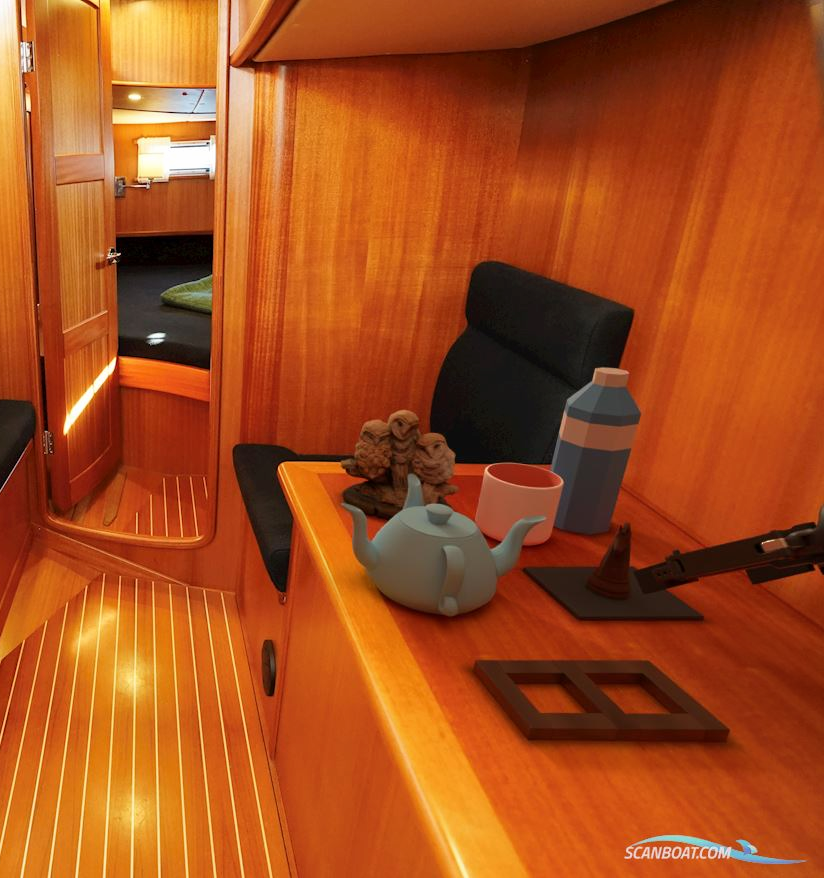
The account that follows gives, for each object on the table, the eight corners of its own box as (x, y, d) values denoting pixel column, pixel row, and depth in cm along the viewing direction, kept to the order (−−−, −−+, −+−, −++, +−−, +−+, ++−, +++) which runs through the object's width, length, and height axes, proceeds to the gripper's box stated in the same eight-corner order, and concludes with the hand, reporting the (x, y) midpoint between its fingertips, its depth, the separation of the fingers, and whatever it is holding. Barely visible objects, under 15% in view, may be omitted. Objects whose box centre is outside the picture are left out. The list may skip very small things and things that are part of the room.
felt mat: (632, 569, 99) (633, 566, 98) (703, 620, 87) (704, 616, 87) (522, 570, 99) (523, 566, 99) (578, 620, 88) (579, 616, 88)
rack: (645, 671, 79) (648, 660, 79) (726, 741, 69) (730, 729, 69) (472, 670, 80) (474, 659, 80) (527, 739, 70) (530, 728, 70)
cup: (459, 527, 112) (470, 469, 109) (501, 514, 116) (513, 458, 112) (520, 555, 103) (534, 493, 100) (564, 540, 107) (579, 480, 103)
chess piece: (582, 590, 93) (600, 524, 90) (590, 576, 96) (608, 511, 93) (625, 604, 90) (646, 535, 87) (633, 588, 93) (653, 521, 90)
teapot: (395, 542, 108) (406, 469, 104) (529, 594, 94) (549, 512, 90) (330, 579, 99) (339, 501, 95) (467, 643, 85) (486, 555, 80)
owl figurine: (335, 513, 118) (347, 418, 112) (336, 486, 128) (347, 397, 122) (457, 529, 111) (476, 428, 105) (447, 499, 122) (464, 405, 116)
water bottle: (527, 507, 118) (560, 363, 109) (588, 509, 116) (626, 363, 108) (557, 533, 109) (596, 379, 100) (623, 535, 108) (668, 379, 99)
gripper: (798, 574, 60) (608, 619, 79) (1059, 551, 62) (811, 600, 81) (753, 492, 63) (581, 554, 82) (1003, 472, 65) (777, 538, 84)
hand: (695, 577), depth 82 cm, fingers open, 13 cm apart
